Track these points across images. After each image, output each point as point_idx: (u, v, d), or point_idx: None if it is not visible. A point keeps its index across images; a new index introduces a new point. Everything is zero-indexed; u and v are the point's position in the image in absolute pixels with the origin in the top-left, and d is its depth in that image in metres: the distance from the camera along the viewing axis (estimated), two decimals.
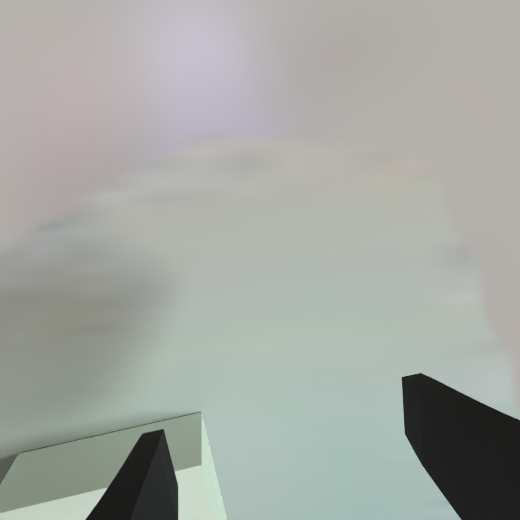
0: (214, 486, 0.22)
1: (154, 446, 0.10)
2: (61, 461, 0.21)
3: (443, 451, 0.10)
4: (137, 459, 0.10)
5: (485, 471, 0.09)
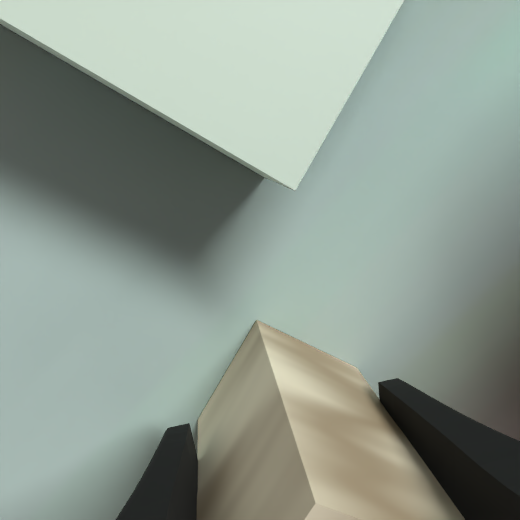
0: None
1: (182, 440, 0.10)
2: None
3: None
4: (167, 452, 0.10)
5: (454, 479, 0.09)
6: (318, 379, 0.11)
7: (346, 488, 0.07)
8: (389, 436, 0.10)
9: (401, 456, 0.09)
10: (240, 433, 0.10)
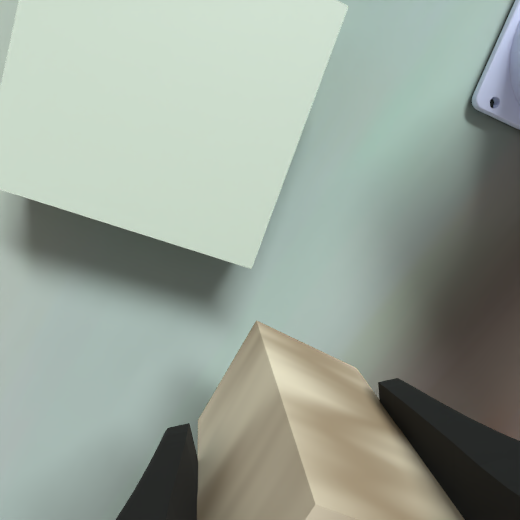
0: None
1: (182, 440, 0.10)
2: None
3: None
4: (167, 452, 0.10)
5: (454, 479, 0.09)
6: (318, 380, 0.11)
7: (346, 489, 0.07)
8: (390, 437, 0.10)
9: (402, 456, 0.09)
10: (240, 433, 0.10)
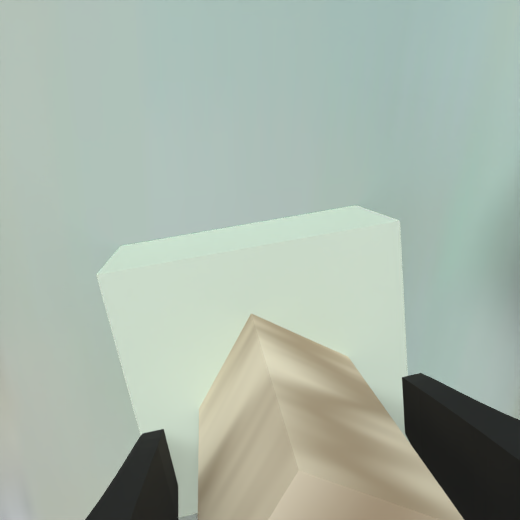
0: (208, 239, 0.15)
1: (154, 446, 0.10)
2: None
3: (443, 451, 0.10)
4: (137, 459, 0.10)
5: (485, 471, 0.09)
6: (308, 367, 0.12)
7: (328, 459, 0.08)
8: (375, 417, 0.11)
9: (386, 434, 0.10)
10: (236, 417, 0.11)
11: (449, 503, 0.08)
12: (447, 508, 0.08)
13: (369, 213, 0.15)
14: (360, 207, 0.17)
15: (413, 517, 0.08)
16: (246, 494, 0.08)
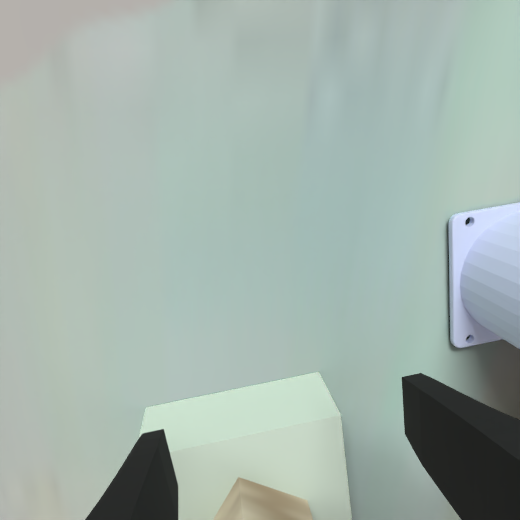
0: (209, 413, 0.21)
1: (154, 446, 0.10)
2: None
3: (443, 451, 0.10)
4: (137, 459, 0.10)
5: (485, 471, 0.09)
6: None
7: None
8: None
9: None
10: None
11: None
12: None
13: (324, 393, 0.21)
14: (320, 378, 0.23)
15: None
16: None
